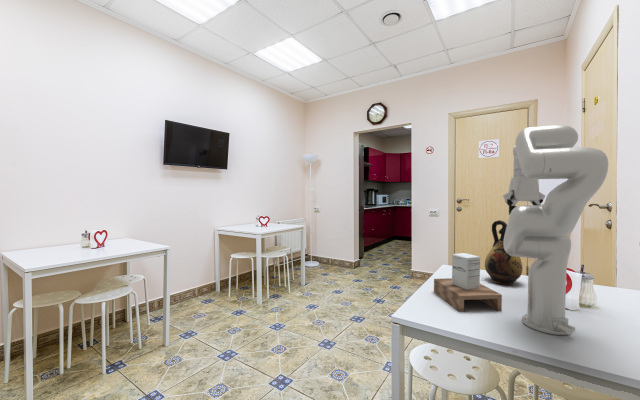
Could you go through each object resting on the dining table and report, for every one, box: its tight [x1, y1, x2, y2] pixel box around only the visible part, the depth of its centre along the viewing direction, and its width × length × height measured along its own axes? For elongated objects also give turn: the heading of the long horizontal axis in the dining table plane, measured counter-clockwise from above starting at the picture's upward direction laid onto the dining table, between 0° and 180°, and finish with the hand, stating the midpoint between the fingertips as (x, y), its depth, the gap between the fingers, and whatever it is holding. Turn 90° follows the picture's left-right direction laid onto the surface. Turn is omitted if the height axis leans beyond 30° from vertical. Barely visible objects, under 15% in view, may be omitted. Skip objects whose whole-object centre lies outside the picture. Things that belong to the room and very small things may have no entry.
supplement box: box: [451, 252, 481, 290], centre depth 111 cm, size 7×7×13 cm
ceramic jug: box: [484, 219, 523, 286], centre depth 135 cm, size 17×15×30 cm
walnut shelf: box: [433, 277, 503, 313], centre depth 111 cm, size 20×16×6 cm
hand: (523, 215), depth 114 cm, fingers open, 9 cm apart
